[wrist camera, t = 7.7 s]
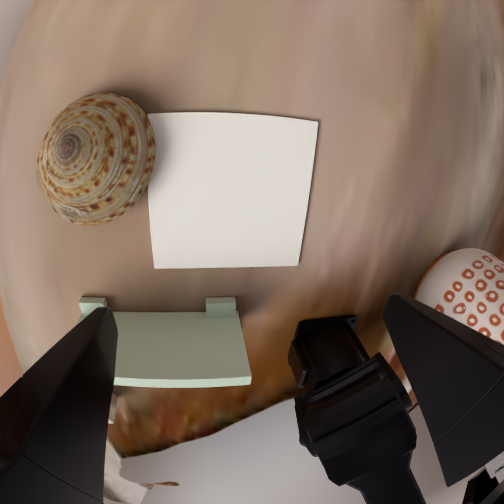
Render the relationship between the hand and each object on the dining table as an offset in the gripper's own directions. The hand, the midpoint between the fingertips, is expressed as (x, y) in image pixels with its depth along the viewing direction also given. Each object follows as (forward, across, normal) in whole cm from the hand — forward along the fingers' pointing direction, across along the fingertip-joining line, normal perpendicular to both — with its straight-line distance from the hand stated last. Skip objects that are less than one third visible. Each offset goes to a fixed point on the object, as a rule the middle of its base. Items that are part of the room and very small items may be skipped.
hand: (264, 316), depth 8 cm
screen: (+12, +6, +10) cm, 17 cm away
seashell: (+12, +11, 0) cm, 16 cm away
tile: (+12, 0, 0) cm, 12 cm away
